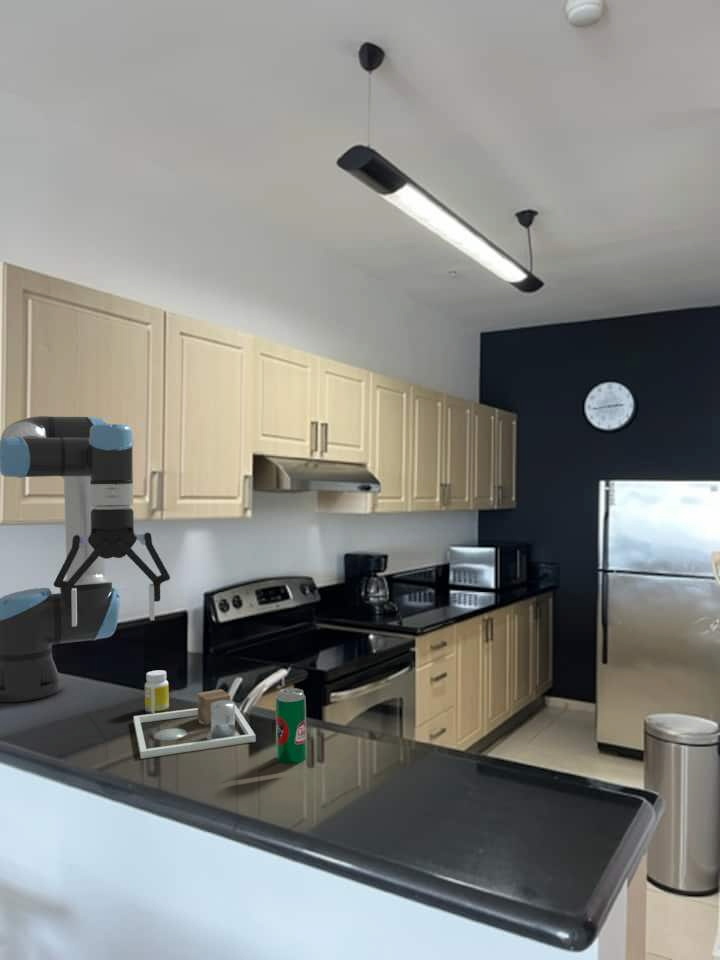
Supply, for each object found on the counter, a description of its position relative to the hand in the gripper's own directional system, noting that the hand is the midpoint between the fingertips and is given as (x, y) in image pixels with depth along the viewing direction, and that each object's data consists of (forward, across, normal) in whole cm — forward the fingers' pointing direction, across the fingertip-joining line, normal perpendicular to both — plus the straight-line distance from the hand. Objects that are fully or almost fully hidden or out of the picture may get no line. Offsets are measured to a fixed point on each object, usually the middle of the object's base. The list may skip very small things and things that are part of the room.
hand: (113, 622), depth 132 cm
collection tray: (+22, +14, -2) cm, 26 cm away
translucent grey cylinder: (+21, +19, -7) cm, 29 cm away
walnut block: (+22, +19, +3) cm, 29 cm away
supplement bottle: (+22, +8, +14) cm, 28 cm away
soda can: (+22, +28, -22) cm, 42 cm away
